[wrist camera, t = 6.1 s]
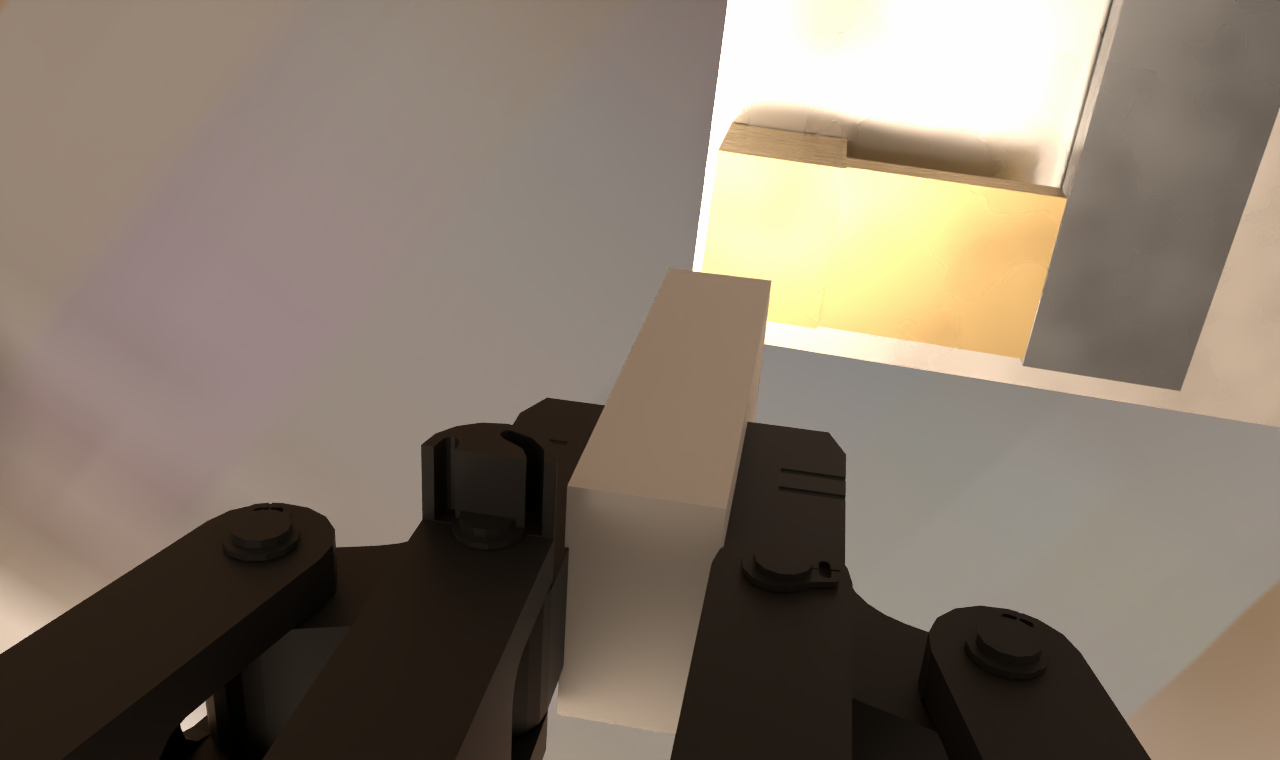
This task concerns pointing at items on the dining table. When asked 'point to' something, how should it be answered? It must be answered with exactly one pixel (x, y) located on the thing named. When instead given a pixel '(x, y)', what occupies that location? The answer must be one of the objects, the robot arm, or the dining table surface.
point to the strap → (1157, 186)
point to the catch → (881, 241)
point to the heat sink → (984, 158)
